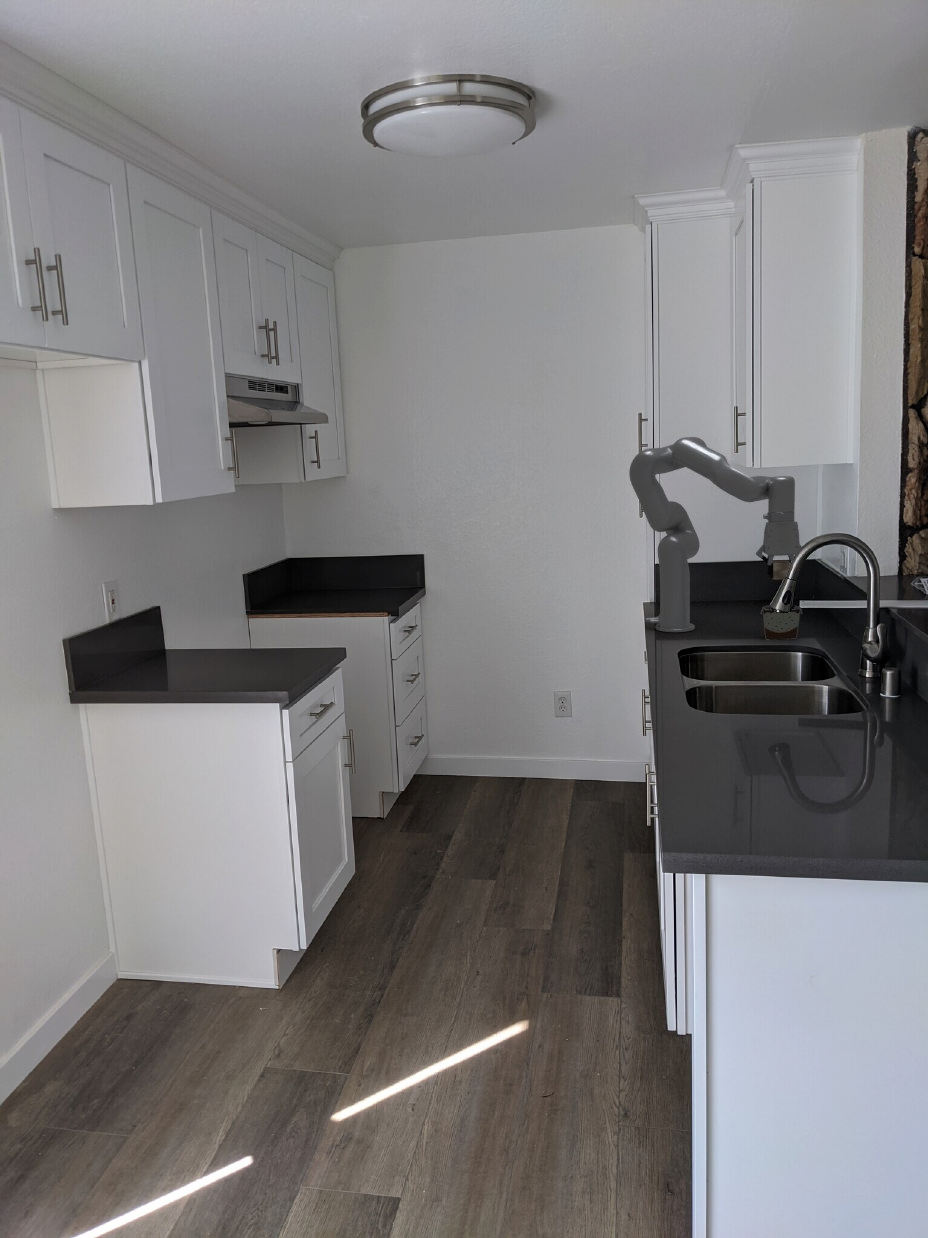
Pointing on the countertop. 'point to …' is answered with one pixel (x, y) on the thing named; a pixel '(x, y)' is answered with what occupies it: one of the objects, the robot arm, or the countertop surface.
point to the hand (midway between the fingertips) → (780, 576)
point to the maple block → (780, 569)
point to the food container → (781, 623)
